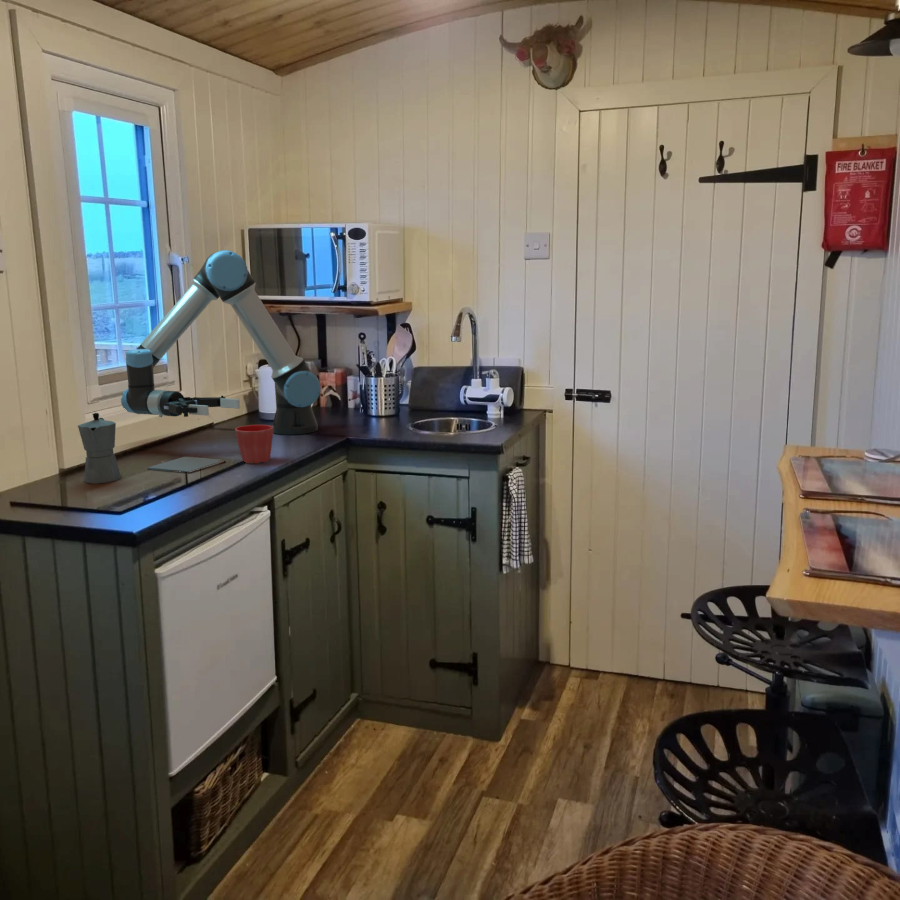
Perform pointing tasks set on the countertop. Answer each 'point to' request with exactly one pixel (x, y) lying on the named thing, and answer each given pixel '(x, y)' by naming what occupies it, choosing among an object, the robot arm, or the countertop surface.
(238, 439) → the flower pot
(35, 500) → the countertop surface
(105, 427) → the coffeepot
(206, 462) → the slate coaster
